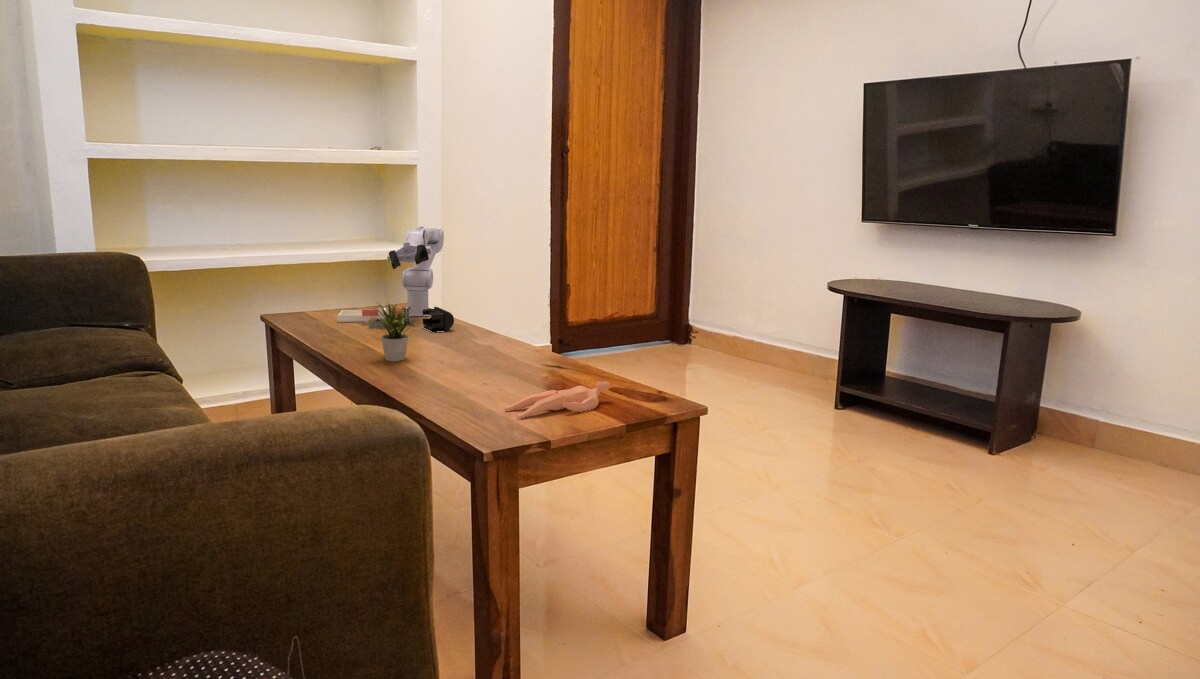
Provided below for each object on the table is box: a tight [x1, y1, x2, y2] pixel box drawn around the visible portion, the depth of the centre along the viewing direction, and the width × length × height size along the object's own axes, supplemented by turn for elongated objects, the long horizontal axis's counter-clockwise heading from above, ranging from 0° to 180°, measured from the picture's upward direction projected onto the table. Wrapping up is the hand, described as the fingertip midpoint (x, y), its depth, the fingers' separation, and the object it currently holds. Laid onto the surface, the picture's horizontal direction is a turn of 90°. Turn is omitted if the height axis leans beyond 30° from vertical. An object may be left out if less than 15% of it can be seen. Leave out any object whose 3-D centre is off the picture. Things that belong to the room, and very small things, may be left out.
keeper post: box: [401, 305, 414, 326], centre depth 258 cm, size 4×4×6 cm
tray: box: [336, 309, 372, 324], centre depth 263 cm, size 9×9×2 cm
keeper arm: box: [361, 308, 404, 317], centre depth 257 cm, size 13×3×2 cm, turn 99°
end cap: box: [422, 306, 455, 333], centre depth 252 cm, size 10×7×7 cm
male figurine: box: [503, 380, 610, 420], centre depth 173 cm, size 11×5×25 cm
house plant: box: [370, 301, 419, 362], centre depth 210 cm, size 14×14×16 cm
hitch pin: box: [377, 303, 389, 322], centre depth 254 cm, size 4×4×7 cm
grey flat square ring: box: [368, 317, 386, 329], centre depth 255 cm, size 8×8×2 cm
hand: (404, 263), depth 251 cm, fingers open, 7 cm apart
